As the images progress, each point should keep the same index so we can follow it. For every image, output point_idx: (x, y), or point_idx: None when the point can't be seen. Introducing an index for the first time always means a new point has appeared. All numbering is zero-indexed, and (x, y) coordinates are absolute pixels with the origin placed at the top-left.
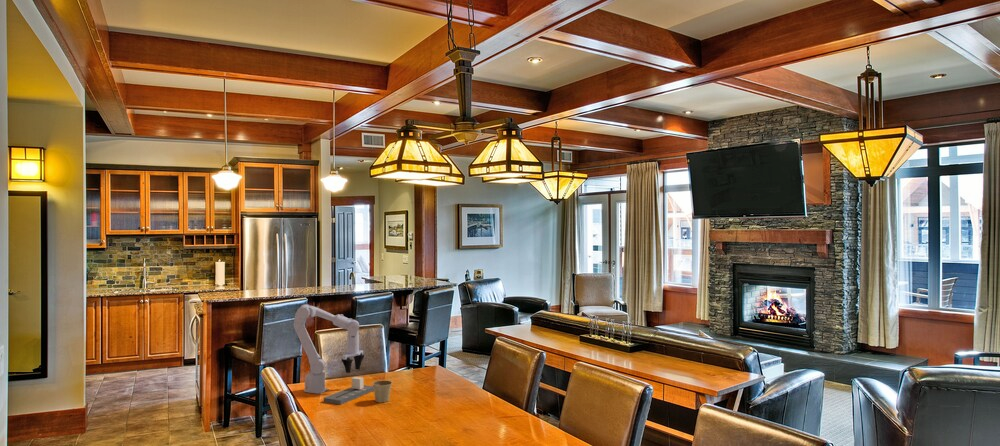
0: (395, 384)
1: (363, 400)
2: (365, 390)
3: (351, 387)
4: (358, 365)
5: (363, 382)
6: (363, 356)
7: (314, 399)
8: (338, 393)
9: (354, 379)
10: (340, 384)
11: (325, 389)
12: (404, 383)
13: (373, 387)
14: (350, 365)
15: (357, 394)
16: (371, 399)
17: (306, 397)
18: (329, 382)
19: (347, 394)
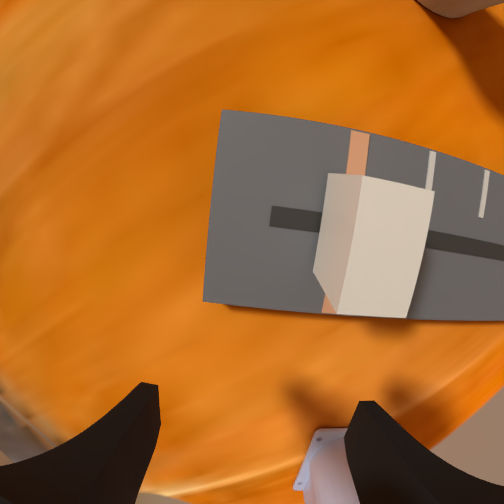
0: (35, 73)
1: (471, 94)
2: (363, 131)
3: (325, 298)
4: (140, 431)
5: (344, 174)
6: (2, 492)
7: (479, 378)
8: (474, 298)
9: (411, 272)
10: (175, 428)
11: (331, 439)
12: (12, 43)
13: (233, 112)
14: (423, 463)
15: (454, 158)
16: (439, 48)
17: (447, 425)
18: (171, 475)
19: (487, 223)
